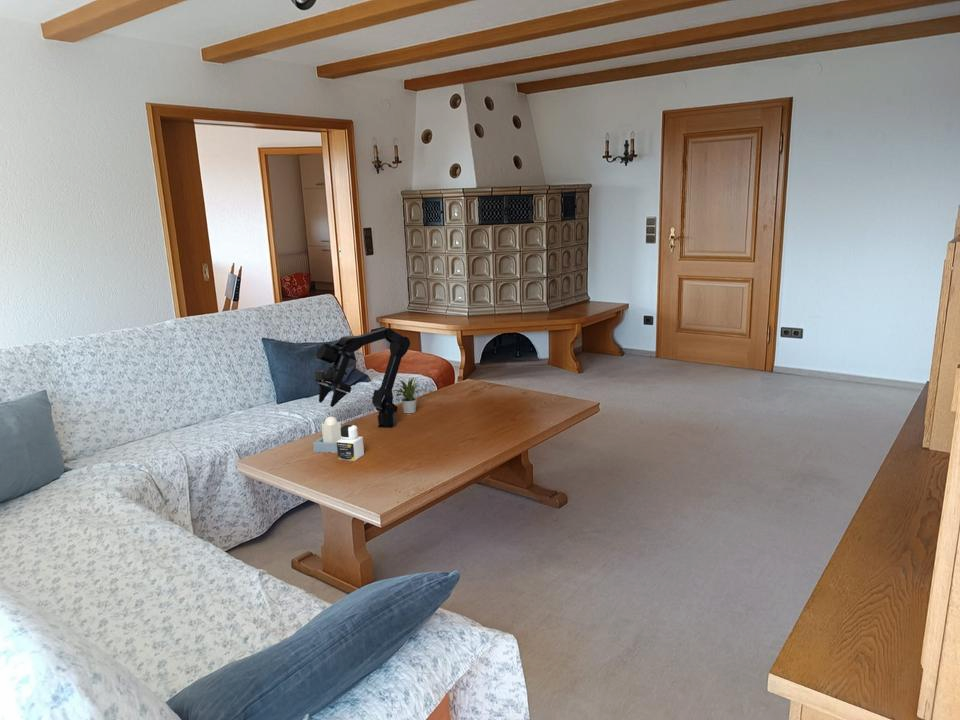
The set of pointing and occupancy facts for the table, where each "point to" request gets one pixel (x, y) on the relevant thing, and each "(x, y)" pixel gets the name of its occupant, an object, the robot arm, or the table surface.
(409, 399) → the house plant
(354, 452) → the medicine bottle
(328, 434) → the cream egg block
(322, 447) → the blue square ring
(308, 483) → the table surface
